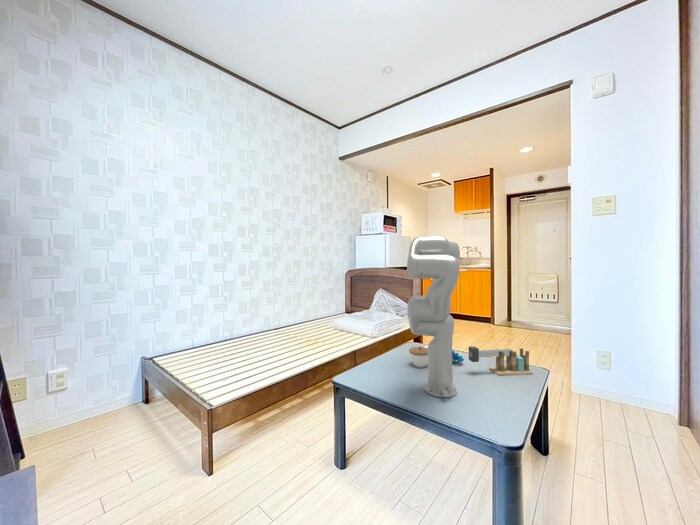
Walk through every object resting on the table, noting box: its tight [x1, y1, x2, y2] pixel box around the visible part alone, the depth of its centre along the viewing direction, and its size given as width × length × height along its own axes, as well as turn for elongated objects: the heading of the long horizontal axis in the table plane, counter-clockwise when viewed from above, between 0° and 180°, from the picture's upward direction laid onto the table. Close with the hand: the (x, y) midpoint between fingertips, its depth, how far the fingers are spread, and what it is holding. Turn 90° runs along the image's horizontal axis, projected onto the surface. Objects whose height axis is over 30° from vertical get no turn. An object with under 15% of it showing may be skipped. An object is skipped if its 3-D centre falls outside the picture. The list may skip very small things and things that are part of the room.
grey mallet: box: [468, 346, 514, 363], centre depth 133 cm, size 4×20×6 cm, turn 95°
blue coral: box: [452, 349, 465, 363], centre depth 146 cm, size 11×6×10 cm
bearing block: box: [488, 347, 533, 377], centre depth 134 cm, size 8×16×10 cm, turn 95°
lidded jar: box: [408, 345, 428, 368], centre depth 144 cm, size 11×11×9 cm
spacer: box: [516, 353, 524, 372], centre depth 135 cm, size 6×2×6 cm, turn 175°
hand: (439, 305), depth 141 cm, fingers open, 9 cm apart
